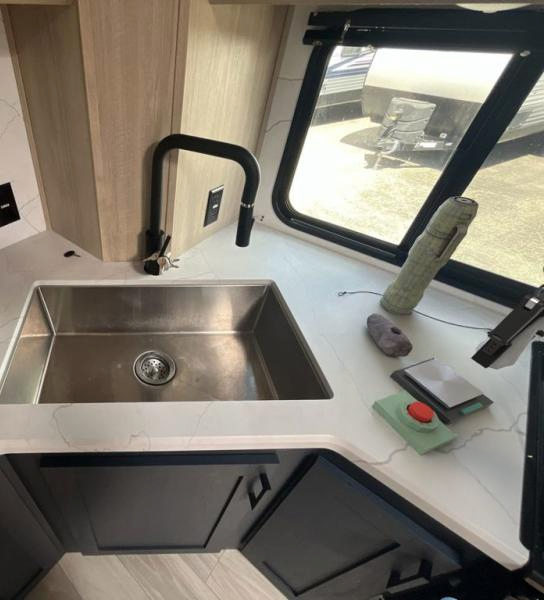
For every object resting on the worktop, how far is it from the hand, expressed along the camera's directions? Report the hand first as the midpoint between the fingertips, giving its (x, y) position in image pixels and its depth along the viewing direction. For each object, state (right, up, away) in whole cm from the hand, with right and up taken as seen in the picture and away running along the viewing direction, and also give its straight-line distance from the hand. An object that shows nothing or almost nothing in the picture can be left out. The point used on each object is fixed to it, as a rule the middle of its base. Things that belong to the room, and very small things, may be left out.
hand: (490, 358), depth 64 cm
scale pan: (+2, -8, +13) cm, 16 cm away
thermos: (+12, +9, +39) cm, 42 cm away
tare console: (-10, -16, +8) cm, 20 cm away
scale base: (+2, -11, +14) cm, 18 cm away
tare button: (-10, -13, +6) cm, 17 cm away
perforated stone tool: (-2, 0, +27) cm, 27 cm away
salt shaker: (0, -1, +1) cm, 1 cm away
